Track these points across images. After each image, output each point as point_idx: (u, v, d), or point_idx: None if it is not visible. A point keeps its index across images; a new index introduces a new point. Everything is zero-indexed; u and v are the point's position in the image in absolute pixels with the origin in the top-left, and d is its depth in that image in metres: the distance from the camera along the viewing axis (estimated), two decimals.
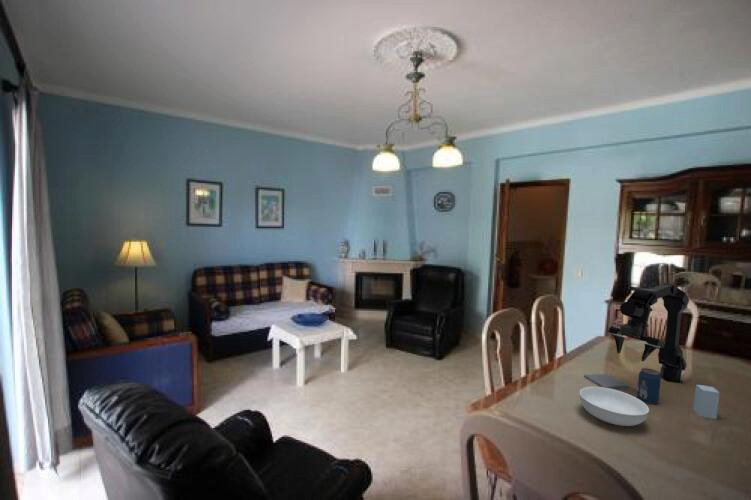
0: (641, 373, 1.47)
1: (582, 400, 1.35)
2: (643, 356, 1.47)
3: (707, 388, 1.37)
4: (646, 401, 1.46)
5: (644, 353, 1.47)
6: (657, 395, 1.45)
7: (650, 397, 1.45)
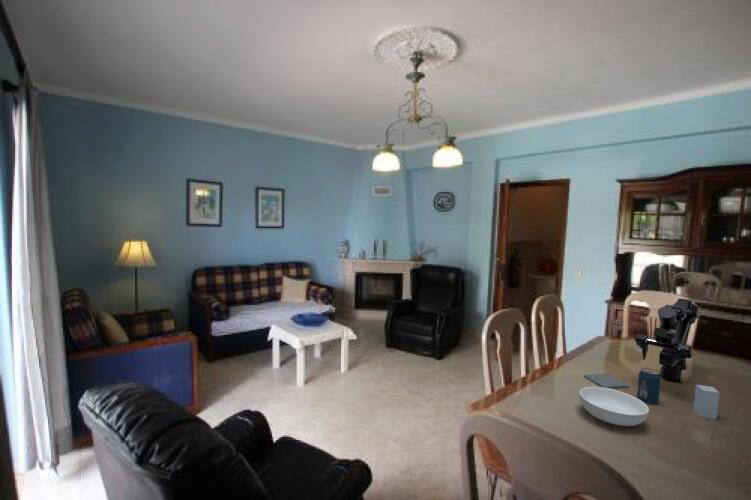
0: (641, 373, 1.47)
1: (582, 400, 1.35)
2: (673, 361, 1.49)
3: (707, 388, 1.37)
4: (646, 401, 1.46)
5: (674, 358, 1.49)
6: (657, 395, 1.45)
7: (650, 397, 1.45)
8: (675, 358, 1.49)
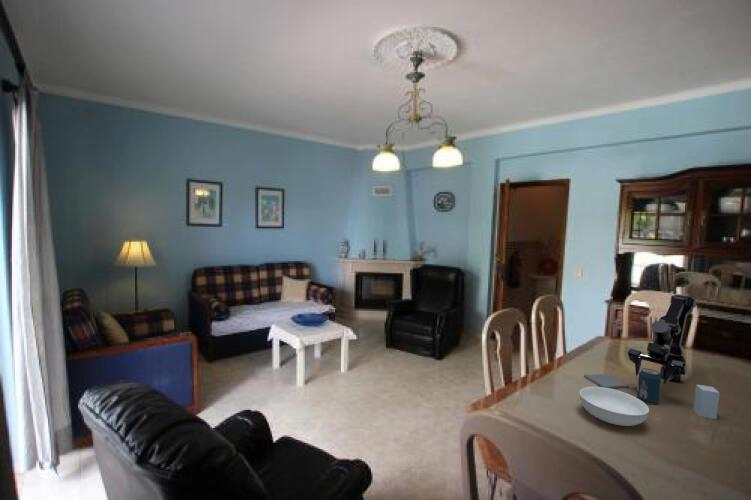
0: (641, 373, 1.47)
1: (582, 400, 1.35)
2: (666, 378, 1.44)
3: (707, 388, 1.37)
4: (646, 401, 1.46)
5: (668, 375, 1.45)
6: (657, 395, 1.45)
7: (650, 397, 1.45)
8: (669, 375, 1.45)
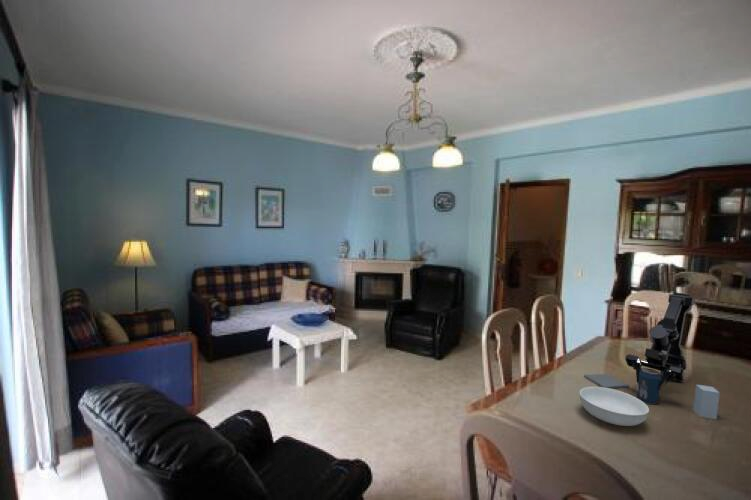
0: (641, 373, 1.47)
1: (582, 400, 1.35)
2: (660, 383, 1.44)
3: (707, 388, 1.37)
4: (646, 401, 1.46)
5: (662, 380, 1.44)
6: (657, 395, 1.45)
7: (650, 397, 1.45)
8: (663, 380, 1.44)
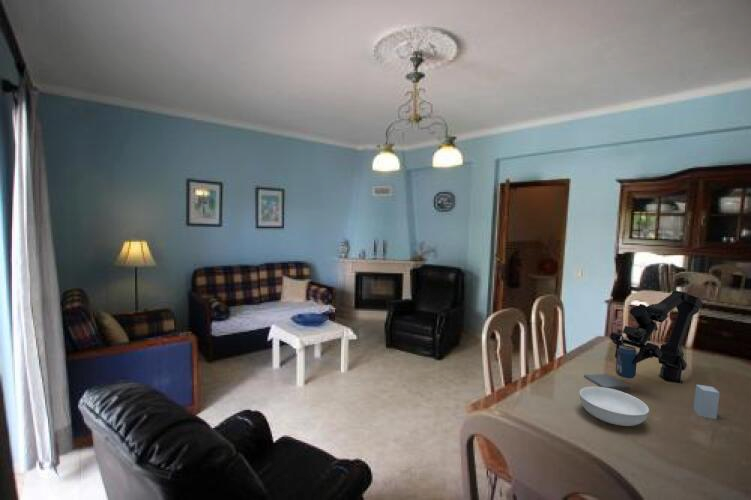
0: (618, 349, 1.55)
1: (582, 400, 1.35)
2: (635, 358, 1.51)
3: (707, 388, 1.37)
4: (621, 375, 1.53)
5: (637, 356, 1.51)
6: (632, 370, 1.51)
7: (624, 371, 1.52)
8: (638, 356, 1.51)
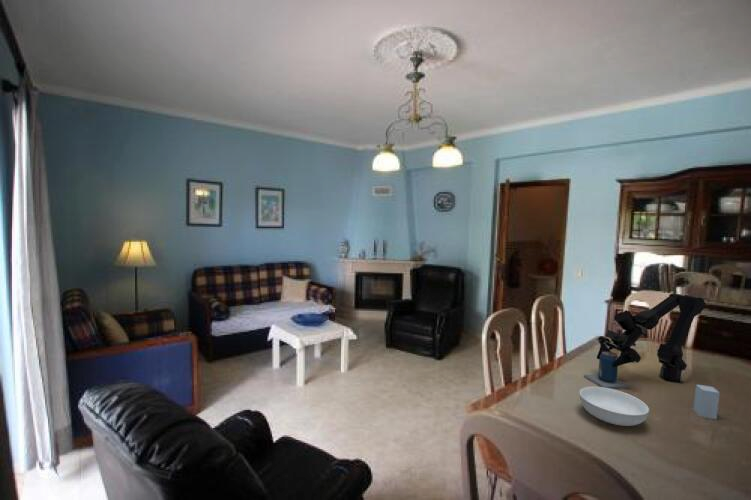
0: None
1: (582, 400, 1.35)
2: (615, 362, 1.58)
3: (707, 388, 1.37)
4: (601, 379, 1.63)
5: (617, 359, 1.58)
6: (611, 375, 1.60)
7: (604, 375, 1.61)
8: (618, 359, 1.58)
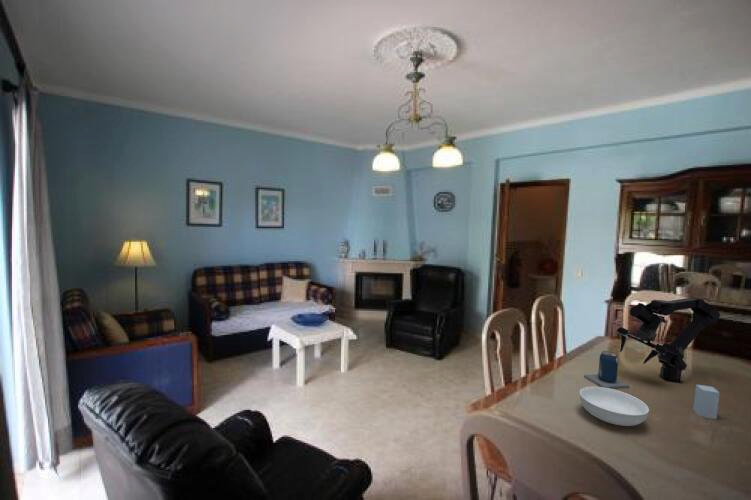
0: None
1: (582, 400, 1.35)
2: (646, 359, 1.61)
3: (707, 388, 1.37)
4: (601, 379, 1.63)
5: (648, 357, 1.60)
6: (611, 375, 1.60)
7: (604, 375, 1.61)
8: (649, 357, 1.60)
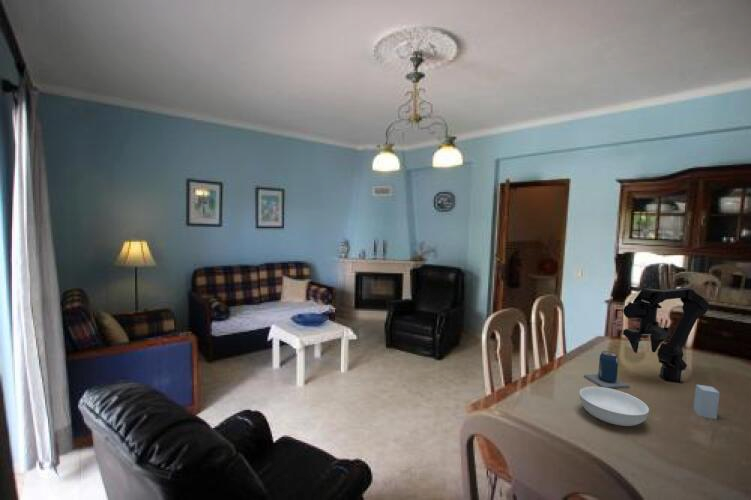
0: None
1: (582, 400, 1.35)
2: (656, 348, 1.65)
3: (707, 388, 1.37)
4: (601, 379, 1.63)
5: (657, 346, 1.65)
6: (611, 375, 1.60)
7: (604, 375, 1.61)
8: (658, 345, 1.65)
